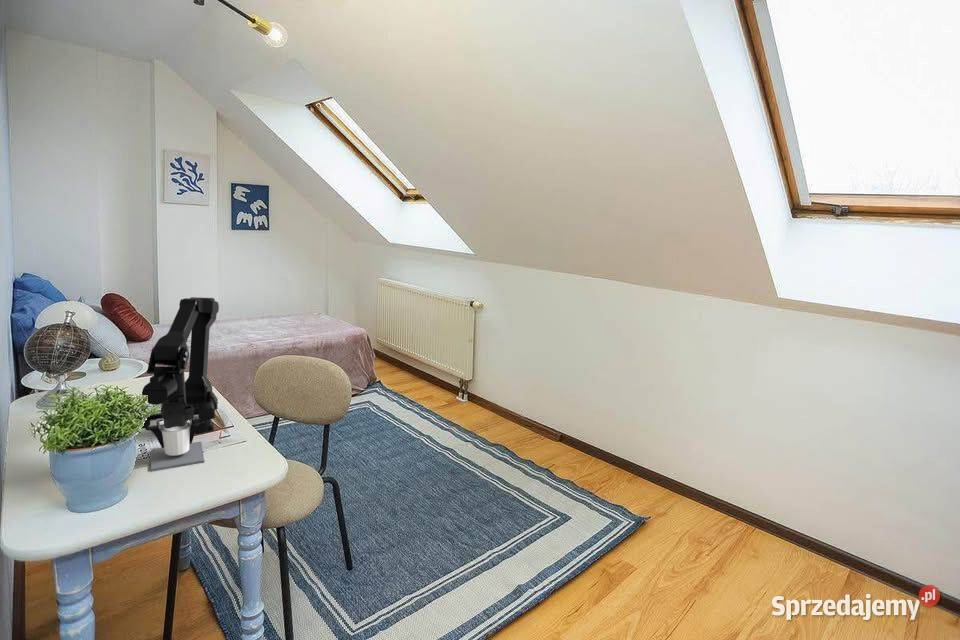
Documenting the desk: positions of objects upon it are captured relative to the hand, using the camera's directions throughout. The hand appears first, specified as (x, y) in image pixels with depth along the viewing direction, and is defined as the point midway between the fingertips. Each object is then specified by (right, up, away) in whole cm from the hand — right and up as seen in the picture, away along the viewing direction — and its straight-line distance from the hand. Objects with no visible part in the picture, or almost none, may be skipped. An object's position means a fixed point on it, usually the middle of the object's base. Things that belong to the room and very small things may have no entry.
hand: (176, 445), depth 144 cm
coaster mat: (0, -3, +1) cm, 3 cm away
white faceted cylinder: (0, -2, 0) cm, 2 cm away
